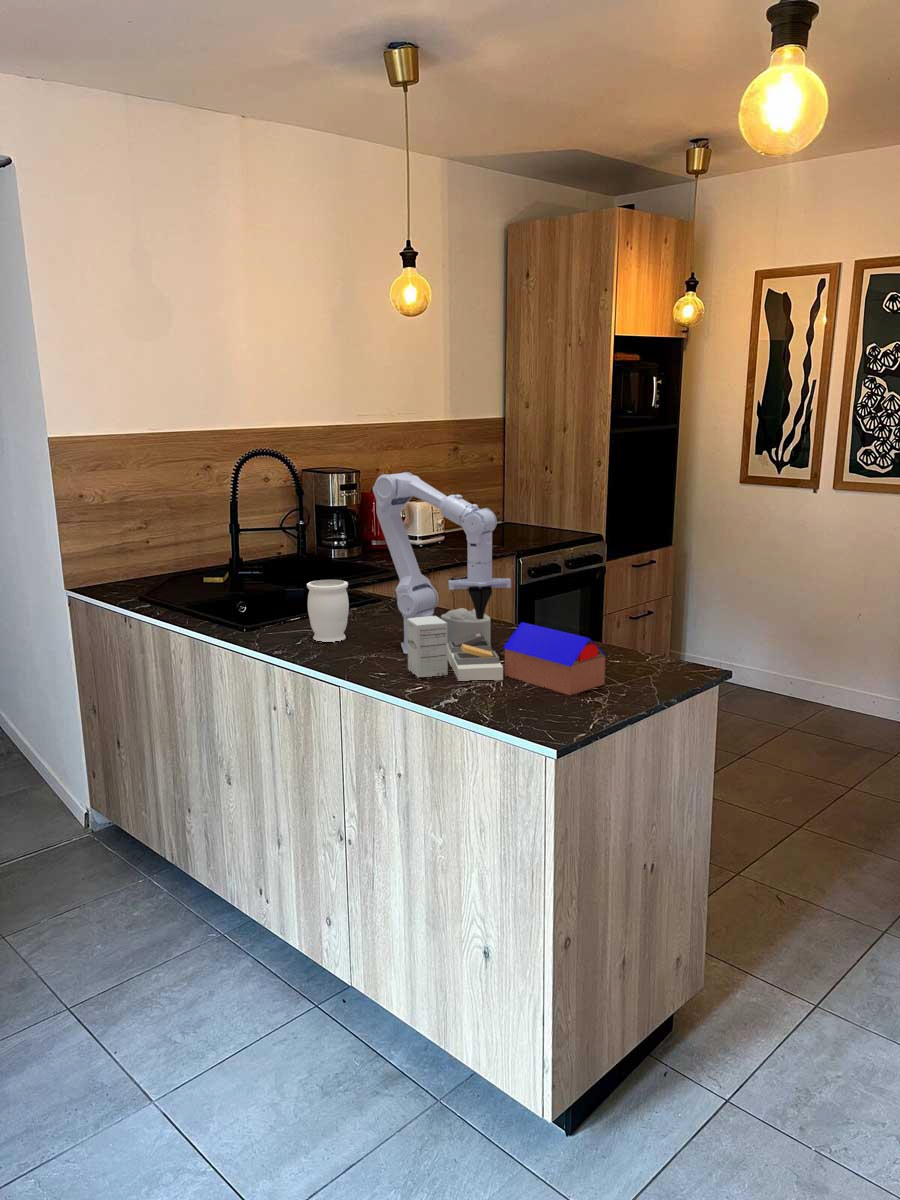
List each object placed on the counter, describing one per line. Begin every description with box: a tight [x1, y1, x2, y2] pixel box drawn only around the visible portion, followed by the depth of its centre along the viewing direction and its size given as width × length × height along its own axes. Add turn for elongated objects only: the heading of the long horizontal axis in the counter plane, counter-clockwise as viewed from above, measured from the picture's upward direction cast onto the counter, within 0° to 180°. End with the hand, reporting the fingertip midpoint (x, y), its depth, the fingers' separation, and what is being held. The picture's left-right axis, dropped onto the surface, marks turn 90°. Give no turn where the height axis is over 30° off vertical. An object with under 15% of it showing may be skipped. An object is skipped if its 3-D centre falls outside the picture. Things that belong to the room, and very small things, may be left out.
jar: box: [306, 579, 350, 643], centre depth 238 cm, size 11×10×15 cm
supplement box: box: [407, 615, 449, 679], centre depth 208 cm, size 7×7×13 cm
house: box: [502, 621, 608, 696], centre depth 203 cm, size 12×20×12 cm, turn 42°
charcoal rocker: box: [454, 632, 485, 647], centre depth 217 cm, size 4×7×1 cm, turn 98°
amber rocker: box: [461, 644, 493, 658], centre depth 208 cm, size 4×7×1 cm, turn 98°
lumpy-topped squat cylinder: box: [440, 607, 492, 644], centre depth 233 cm, size 10×13×9 cm
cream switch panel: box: [447, 640, 504, 682], centre depth 213 cm, size 22×10×4 cm, turn 8°
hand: (479, 618), depth 217 cm, fingers closed
